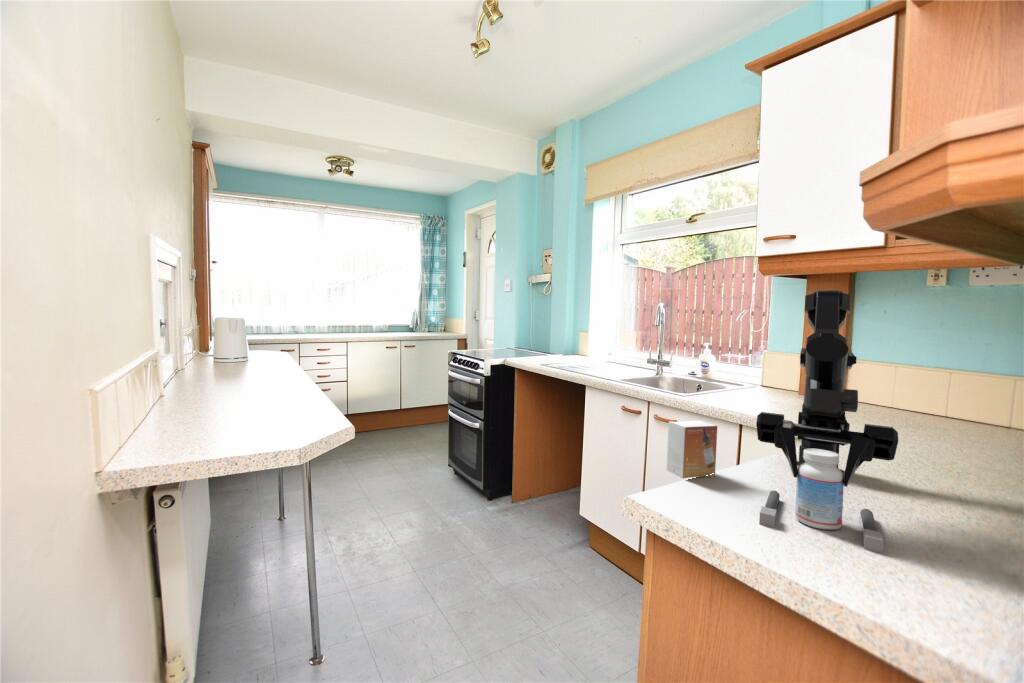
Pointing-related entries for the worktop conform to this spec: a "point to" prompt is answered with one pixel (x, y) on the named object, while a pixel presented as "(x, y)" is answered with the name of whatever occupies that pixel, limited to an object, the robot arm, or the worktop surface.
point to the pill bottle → (820, 490)
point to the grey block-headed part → (871, 532)
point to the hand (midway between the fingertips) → (819, 480)
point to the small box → (691, 448)
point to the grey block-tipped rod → (769, 510)
